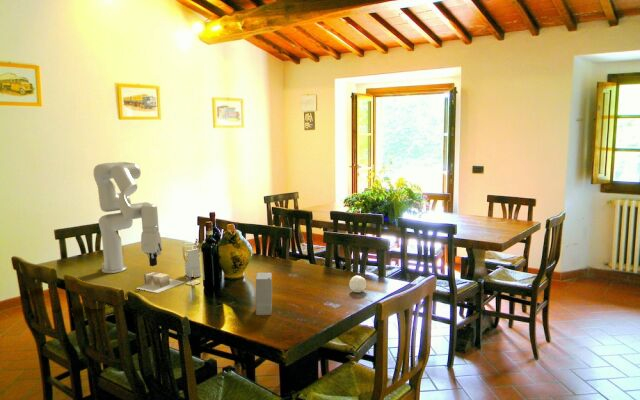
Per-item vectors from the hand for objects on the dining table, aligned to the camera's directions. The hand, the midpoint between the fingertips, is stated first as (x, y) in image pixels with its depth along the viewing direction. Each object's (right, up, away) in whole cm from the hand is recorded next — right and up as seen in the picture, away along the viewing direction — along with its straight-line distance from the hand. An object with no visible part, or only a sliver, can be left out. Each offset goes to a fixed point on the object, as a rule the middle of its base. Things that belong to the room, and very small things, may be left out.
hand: (153, 265), depth 235 cm
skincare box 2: (+60, -14, -38) cm, 72 cm away
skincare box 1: (+16, -8, +14) cm, 23 cm away
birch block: (-3, -7, +3) cm, 8 cm away
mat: (+4, -10, -1) cm, 11 cm away
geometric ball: (+101, -10, -16) cm, 102 cm away
